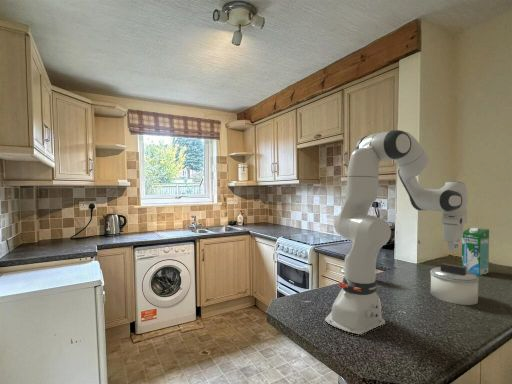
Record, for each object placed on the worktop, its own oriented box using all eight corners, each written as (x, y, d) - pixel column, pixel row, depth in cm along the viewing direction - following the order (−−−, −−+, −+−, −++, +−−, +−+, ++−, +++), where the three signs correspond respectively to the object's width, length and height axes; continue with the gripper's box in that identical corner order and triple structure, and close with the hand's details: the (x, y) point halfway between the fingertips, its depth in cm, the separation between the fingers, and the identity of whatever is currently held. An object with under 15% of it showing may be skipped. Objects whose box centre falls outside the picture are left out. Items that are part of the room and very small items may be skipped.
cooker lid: (473, 283, 110) (473, 273, 110) (427, 274, 122) (427, 265, 122) (479, 274, 121) (479, 265, 121) (437, 266, 133) (437, 258, 133)
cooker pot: (475, 309, 109) (475, 284, 109) (425, 296, 122) (425, 274, 122) (481, 296, 121) (482, 274, 121) (435, 286, 134) (435, 266, 134)
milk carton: (461, 271, 158) (462, 228, 157) (470, 269, 162) (471, 227, 161) (479, 275, 150) (480, 230, 149) (488, 273, 153) (489, 229, 153)
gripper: (451, 216, 130) (450, 245, 131) (440, 219, 116) (439, 251, 116) (467, 217, 126) (466, 247, 126) (458, 220, 112) (457, 254, 112)
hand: (453, 249), depth 121 cm, fingers open, 8 cm apart
